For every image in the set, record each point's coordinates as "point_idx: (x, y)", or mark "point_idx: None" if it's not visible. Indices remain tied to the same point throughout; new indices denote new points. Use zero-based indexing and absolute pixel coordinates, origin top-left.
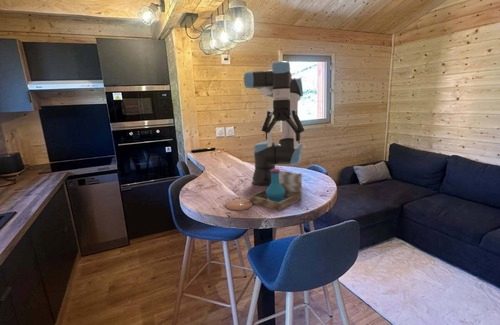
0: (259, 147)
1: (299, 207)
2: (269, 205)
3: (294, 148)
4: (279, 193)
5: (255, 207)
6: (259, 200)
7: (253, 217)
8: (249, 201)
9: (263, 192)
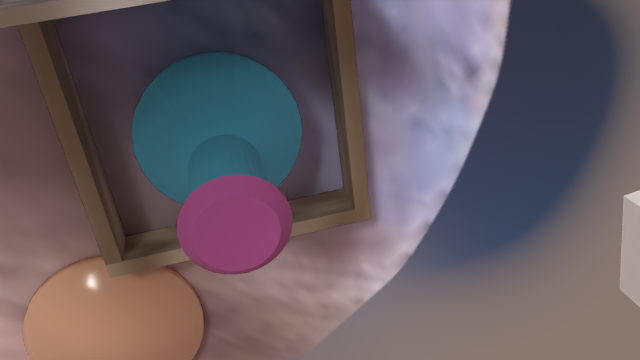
0: None
1: (420, 84)
2: None
3: (634, 289)
4: (294, 159)
5: None
6: None
7: (317, 340)
8: None
9: (83, 142)
